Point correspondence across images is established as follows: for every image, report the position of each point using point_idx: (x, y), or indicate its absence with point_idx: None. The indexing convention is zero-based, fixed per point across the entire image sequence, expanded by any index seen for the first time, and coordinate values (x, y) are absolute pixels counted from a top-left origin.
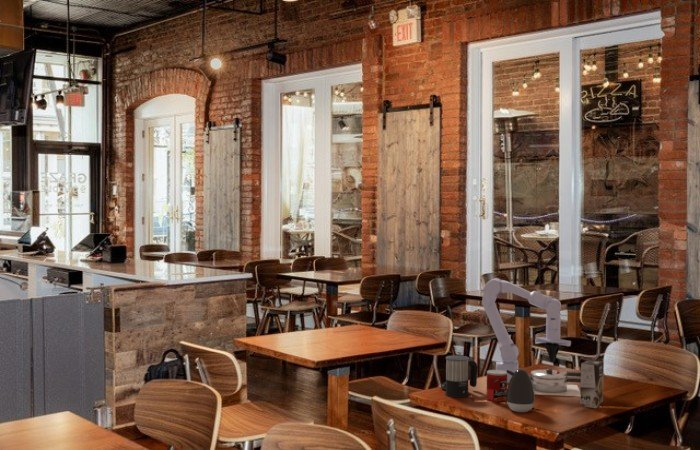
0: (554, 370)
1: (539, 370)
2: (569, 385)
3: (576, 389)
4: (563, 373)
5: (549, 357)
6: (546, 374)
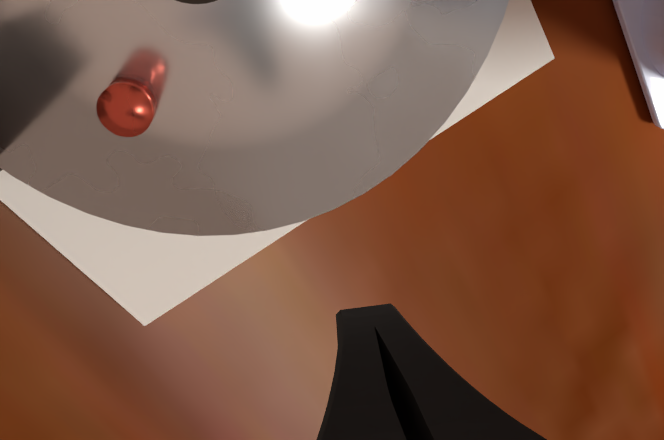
0: (271, 211)
1: (443, 35)
2: (177, 266)
3: None
4: (30, 118)
5: (416, 339)
6: None
